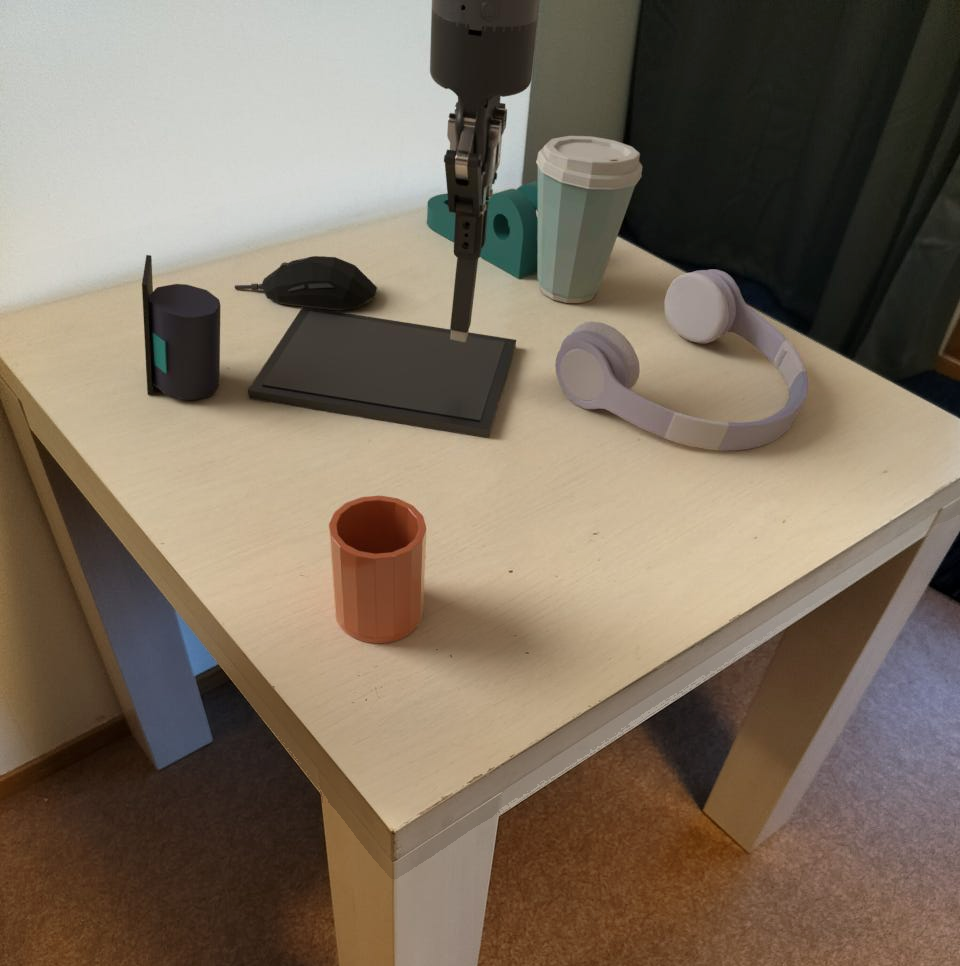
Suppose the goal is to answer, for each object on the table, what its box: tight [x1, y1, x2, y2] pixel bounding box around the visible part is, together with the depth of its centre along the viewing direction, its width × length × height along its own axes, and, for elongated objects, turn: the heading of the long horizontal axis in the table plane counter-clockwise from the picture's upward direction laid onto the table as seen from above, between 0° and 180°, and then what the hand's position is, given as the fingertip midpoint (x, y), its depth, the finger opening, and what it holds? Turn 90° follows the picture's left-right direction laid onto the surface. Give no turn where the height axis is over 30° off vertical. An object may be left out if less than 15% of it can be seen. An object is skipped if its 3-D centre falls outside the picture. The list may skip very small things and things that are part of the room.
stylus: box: [449, 196, 479, 342], centre depth 77 cm, size 2×2×13 cm
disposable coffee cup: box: [535, 135, 643, 304], centre depth 93 cm, size 11×11×15 cm
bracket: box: [426, 180, 538, 280], centre depth 103 cm, size 18×7×8 cm, turn 42°
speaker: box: [141, 254, 221, 401], centre depth 78 cm, size 8×6×10 cm
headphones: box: [554, 269, 809, 451], centre depth 84 cm, size 22×7×20 cm
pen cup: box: [328, 495, 427, 644], centre depth 61 cm, size 6×6×8 cm
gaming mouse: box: [234, 255, 378, 311], centre depth 93 cm, size 6×15×4 cm, turn 88°
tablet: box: [247, 306, 517, 439], centre depth 85 cm, size 22×16×1 cm
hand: (469, 251), depth 75 cm, fingers closed on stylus, 1 cm apart
